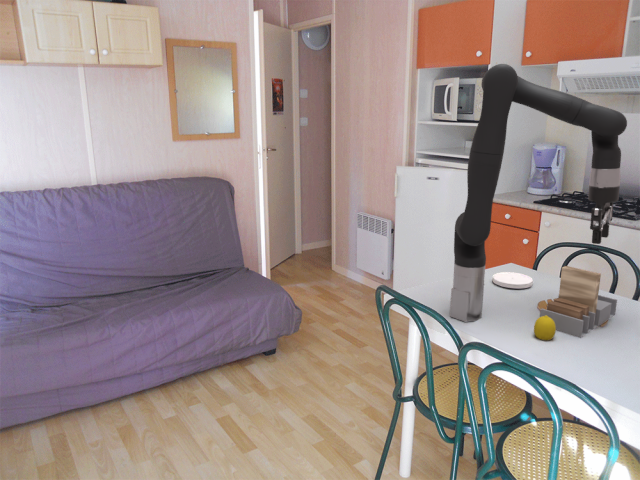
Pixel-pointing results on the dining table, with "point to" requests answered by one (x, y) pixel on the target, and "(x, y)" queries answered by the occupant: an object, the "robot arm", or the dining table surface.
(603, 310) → the rack
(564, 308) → the offcut front
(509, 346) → the dining table surface
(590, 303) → the wooden block
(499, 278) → the plastic lid
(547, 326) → the lemon
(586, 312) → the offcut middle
